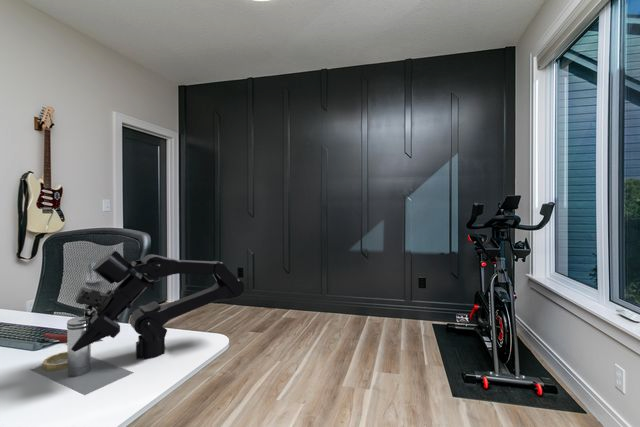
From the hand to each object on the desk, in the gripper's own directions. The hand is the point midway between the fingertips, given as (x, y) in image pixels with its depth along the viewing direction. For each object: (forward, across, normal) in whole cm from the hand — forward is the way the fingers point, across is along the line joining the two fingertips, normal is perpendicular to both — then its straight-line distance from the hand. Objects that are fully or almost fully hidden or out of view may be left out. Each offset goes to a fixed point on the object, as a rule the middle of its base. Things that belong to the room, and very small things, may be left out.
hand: (72, 347), depth 79 cm
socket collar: (+6, -8, +4) cm, 11 cm away
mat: (+4, 0, +7) cm, 8 cm away
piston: (+4, 0, +6) cm, 7 cm away
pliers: (+5, -28, +7) cm, 30 cm away
